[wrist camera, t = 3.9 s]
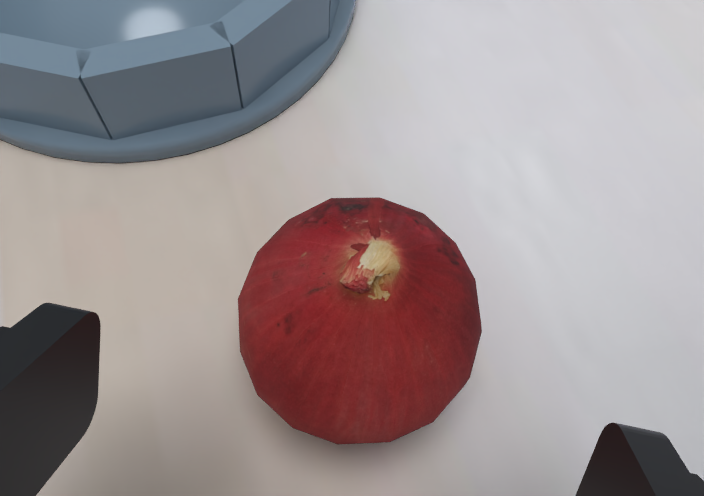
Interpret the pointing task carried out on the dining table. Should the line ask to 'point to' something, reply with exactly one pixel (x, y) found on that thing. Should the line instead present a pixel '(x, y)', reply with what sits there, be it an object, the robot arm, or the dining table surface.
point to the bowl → (156, 71)
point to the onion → (359, 321)
